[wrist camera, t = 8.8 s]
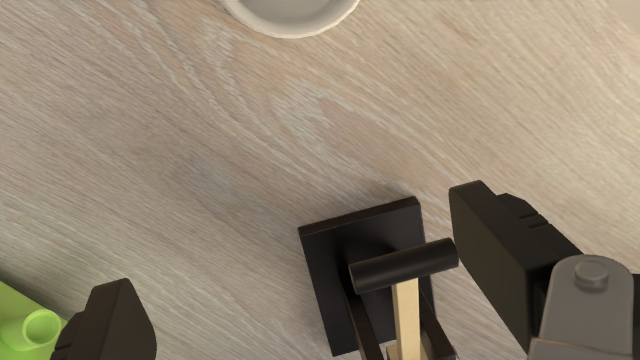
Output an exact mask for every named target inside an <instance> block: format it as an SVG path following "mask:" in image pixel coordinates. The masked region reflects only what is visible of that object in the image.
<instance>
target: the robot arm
mask: <svg viewBox="0 0 640 360" xmlns="http://www.w3.org/2000/svg"><path fill="white" fill-rule="evenodd" d="M449 203H450V212H451V220H452V228H453V236H454V242H455V247H456V250H457V253H458V255H459V258H460V260H461V262H462V264H463V265H464V267H465V268H466V269H467V271H468V272H469V274H470V275H471V276H472V278H473V279H474V281H475V282H476V284H477V285H478V286H479V288H480V289H481V291H482V292H483V293H484V295H485V296H486V298H487V299H488V300H489V302H490V303H491V305H492V306H493V308H494V309H495V310H496V312H497V313H498V315H499V316H500V317H501V319H502V320H503V322H504V323H505V324H506V326H507V327H508V329H509V330H510V332H511V333H512V334H513V336H514V337H515V339H516V340H517V341H518V343H519V344H520V346H521V347H522V348H523V350H524V351H525V353H526V354H527V356H528V357H527V360H640V274H631V272H630V271H629V270H628V269H627V268H626V267H625V266H624V265H622V264H621V263H619V262H617V261H615V260H613V259H610V258H607V257H603V256H598V255H588V254H586V255H585V254H584V253H583V252H581V251H580V250H579V249H578V248H577V247H576V246H575V245H574V244H573V243H571V242H570V241H569V240H568V239H567V238H566V237H565V236H564V235H563V234H562V233H560V232H559V231H558V230H557V229H556V228H555V227H554V226H553V225H552V224H549V223H548V221H547V220H546V219H545V218H544V217H543V216H542V215H541V214H538V212H537V211H536V210H535V209H534V208H533V207H532V206H531V205H530V204H528V203H527V202H526V201H525V200H523V199H520V198H518V197H515V196H513V195H510V194H508V193H504V194H501V195H497V196H496V195H495V194H494V193H493V192H492V191H491V190H490V189H489V188H488V187H487V186H486V185H485V184H484V183H483V182H482V181H481V180H476V181H473V182H469V183H466V184H462V185H458V186H455V187H451V188H450V189H449ZM54 350H55V351H54V352H52V354H51V357H50V359H49V360H155V358H156V351H157V343H156V336H155V332H154V329H153V326H152V324H151V322H150V320H149V318H148V316H147V313H146V311H145V309H144V307H143V305H142V303H141V301H140V299H139V297H138V295H137V293H136V291H135V289H134V287H133V285H132V283H131V282H130V280H129V279H127V278H123V279H119V280H116V281H112V282H109V283H105V284H101V285H98V286H95V287H93V289H92V291H91V293H90V296H89V299H88V302H87V304H86V307H85V310H84V311H82V312H79V313H76V314H75V315H74V316H73V317H72V319H71V320H70V321H69V322H68V323H67V324H66V326H65V327H64V328H63V329H62V330H61V332H60V335H59V337H58V340H57V342H56V345H55V347H54Z"/></svg>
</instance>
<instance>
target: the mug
mask: <svg viewBox="0 0 640 360" xmlns="http://www.w3.org/2000/svg"><path fill="white" fill-rule="evenodd" d="M216 1H217V2H218V3H219V4H220V6H221V7H222V8H223V9H224V10H225V11H226V12H227V13H228V14H229V15H231V16H232V17H234V18H235V19H236V20H238V21H239V22H241V23H242V24H244V25H245V26H247V27H249V28H250V29H252V30H254V31H257V32H260V33H263V34H266V35H268V36H271V37H276V38H291V39H297V38H302V37H307V36H312V35H317V34H319V33H321V32H323V31H325V30H327V29H329V28H331V27H333V26H335V25H337V24H338V23H339V22H340V21H341V20H343V19H344V18H345V17H346V16H347V15H348V14H349V13H350V12H352V11H353V10H354V8H355V7H356V6H357V4H358V3H359V1H360V0H216Z"/></svg>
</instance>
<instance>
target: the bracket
mask: <svg viewBox="0 0 640 360" xmlns="http://www.w3.org/2000/svg"><path fill="white" fill-rule="evenodd" d="M298 231H299V235H300V239H301V242H302V246H303V250H304V253H305V257H306V261H307V264H308V268H309V272H310V275H311V279H312V283H313V286H314V290H315V294H316V297H317V301H318V305H319V308H320V312H321V316H322V319H323V323H324V327H325V330H326V334H327V338H328V341H329V345H330V349H331V352H332V356H333V357H335V356H339V355H342V354H346V353H349V352H353V351H356V350H359V351H360V354H361V357H362V360H384V358H383V355H382V352H381V350H380V347H379V344H381V343H384V342H388V341H391V340H395V339H397V338H396V328H395V317H394V306H393V296H392V285H391V286H387V287H384V288H380V289H377V290H373V291H369V292H366V293H362V294H359V295H357V294H356V292H355V290H354V287H353V283H352V280H351V276H350V272H349V267H348V266H349V265H350V264H354V263H357V262H361V261H364V260H368V259H372V258H375V257H379V256H383V255H386V254H390V253H393V252H397V251H401V250H404V249H408V248H412V247H415V246H419V245H422V244H426V241H425V234H424V227H423V220H422V213H421V206H420V203H419V201H418V200H417V199H416V197H415V196H414V197H410V198H407V199H403V200H399V201H396V202H392V203H388V204H385V205H381V206H377V207H374V208H370V209H366V210H362V211H359V212H355V213H351V214H348V215H344V216H340V217H337V218H333V219H329V220H326V221H322V222H318V223H315V224H311V225H307V226H303V227H300V228H298ZM418 297H419V329H420V339H421V342H422V344H423V347H424V349H425V352H426V354H427V357H428V359H429V360H459V357H458V354H457V352H456V350H455V348H454V347H453V346H452V345H451V344H450V342H449V340H448V338H447V336H446V335H445V333H444V331H443V329H442V327H441V325H440V324H439V322H438V320H437V317H436V310H435V303H434V296H433V289H432V282H431V275H427V276H423V277H420V278H418Z"/></svg>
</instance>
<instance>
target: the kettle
mask: <svg viewBox="0 0 640 360" xmlns="http://www.w3.org/2000/svg"><path fill="white" fill-rule="evenodd" d="M67 323H68V321H66V320H64V319H63V318H61V317H59V316H58V315H57V314H56V313H55V312H53V311H51V310H48V309H46V308H44V307H43V306H41V305H39V304H38V303H36V302H34V301H33V300H31V299H29V298H28V297H26V296H24V295H23V294H21V293H19V292H18V291H16V290H14V289H13V288H11V287H9V286H8V285H6V284H4V283H3V282H1V281H0V360H49V359H50V357H51V354H52V352H54V351H55V350H54V347H55V345H56V342H57V340H58V337H59V335H60V332H61V330H62V329H63V328H64V327H65V326H66V324H67Z"/></svg>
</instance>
